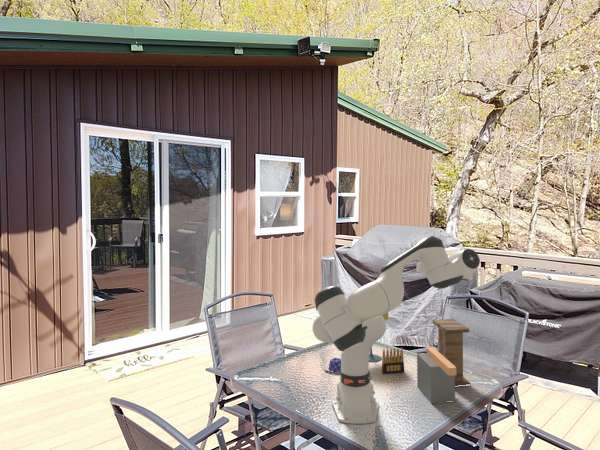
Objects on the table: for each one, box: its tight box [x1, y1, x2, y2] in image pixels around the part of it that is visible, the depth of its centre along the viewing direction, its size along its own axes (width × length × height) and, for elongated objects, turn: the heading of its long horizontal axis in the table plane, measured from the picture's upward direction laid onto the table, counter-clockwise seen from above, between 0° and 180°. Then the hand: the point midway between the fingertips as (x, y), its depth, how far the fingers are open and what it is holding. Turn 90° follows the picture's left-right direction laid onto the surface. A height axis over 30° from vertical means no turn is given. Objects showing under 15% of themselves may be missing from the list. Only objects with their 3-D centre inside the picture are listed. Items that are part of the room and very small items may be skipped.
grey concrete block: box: [416, 352, 456, 404], centre depth 193 cm, size 16×10×15 cm, turn 5°
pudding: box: [328, 357, 341, 375], centre depth 223 cm, size 12×12×5 cm
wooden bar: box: [426, 346, 456, 376], centre depth 187 cm, size 24×3×3 cm, turn 4°
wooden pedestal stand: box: [432, 318, 471, 386], centre depth 206 cm, size 16×12×26 cm
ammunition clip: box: [381, 347, 405, 375], centre depth 217 cm, size 11×2×12 cm, turn 99°
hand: (435, 275), depth 182 cm, fingers open, 8 cm apart
